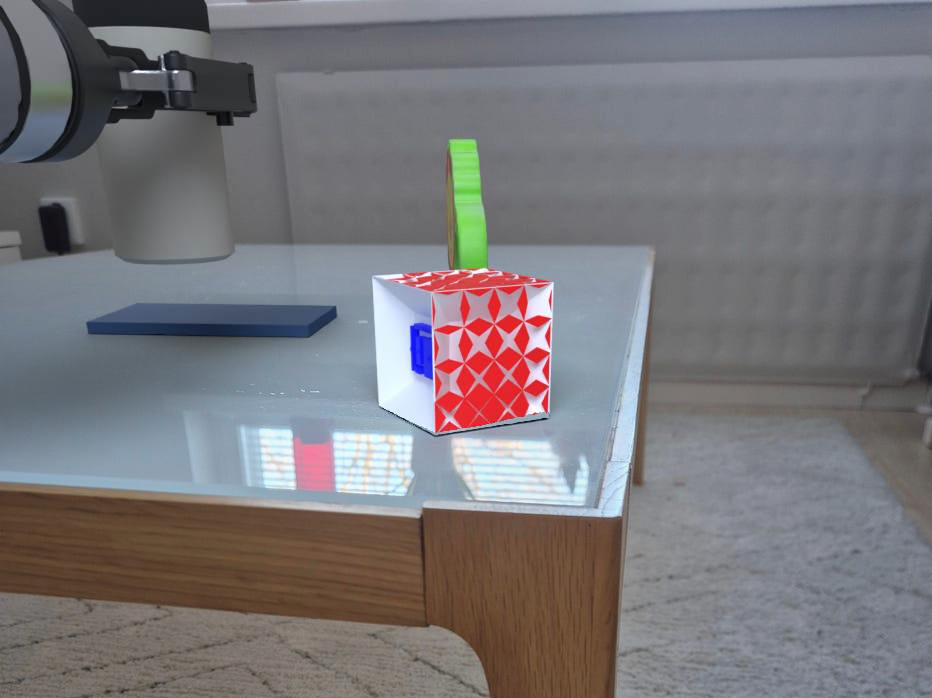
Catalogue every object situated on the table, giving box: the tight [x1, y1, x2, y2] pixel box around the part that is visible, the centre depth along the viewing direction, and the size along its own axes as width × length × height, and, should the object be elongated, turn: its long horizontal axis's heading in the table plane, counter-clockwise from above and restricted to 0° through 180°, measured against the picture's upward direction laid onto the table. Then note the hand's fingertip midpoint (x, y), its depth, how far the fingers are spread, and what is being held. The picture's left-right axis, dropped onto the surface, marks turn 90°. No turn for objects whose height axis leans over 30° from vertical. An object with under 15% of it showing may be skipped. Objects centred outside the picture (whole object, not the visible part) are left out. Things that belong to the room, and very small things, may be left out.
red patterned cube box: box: [371, 267, 555, 433], centre depth 57 cm, size 8×8×8 cm
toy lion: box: [444, 138, 489, 271], centre depth 75 cm, size 16×5×15 cm, turn 5°
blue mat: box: [85, 302, 338, 338], centre depth 87 cm, size 20×11×1 cm, turn 85°
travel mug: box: [71, 0, 236, 266], centre depth 61 cm, size 8×8×18 cm
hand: (180, 94), depth 64 cm, fingers closed on travel mug, 8 cm apart
